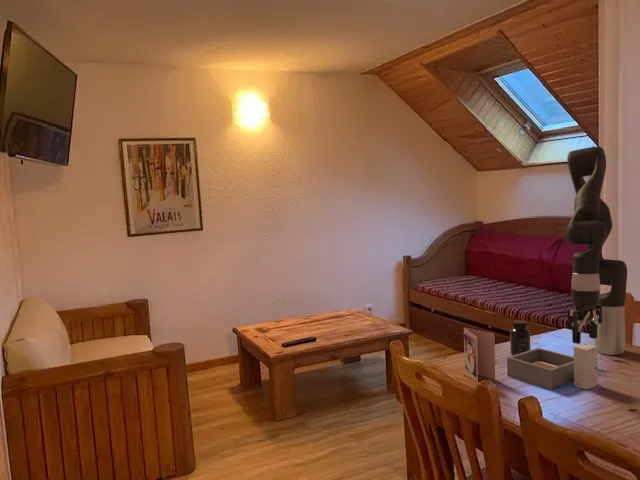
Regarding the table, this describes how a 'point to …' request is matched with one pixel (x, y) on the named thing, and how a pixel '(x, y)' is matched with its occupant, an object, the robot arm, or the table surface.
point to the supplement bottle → (519, 337)
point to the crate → (542, 368)
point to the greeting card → (479, 353)
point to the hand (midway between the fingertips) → (584, 340)
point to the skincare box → (585, 366)
